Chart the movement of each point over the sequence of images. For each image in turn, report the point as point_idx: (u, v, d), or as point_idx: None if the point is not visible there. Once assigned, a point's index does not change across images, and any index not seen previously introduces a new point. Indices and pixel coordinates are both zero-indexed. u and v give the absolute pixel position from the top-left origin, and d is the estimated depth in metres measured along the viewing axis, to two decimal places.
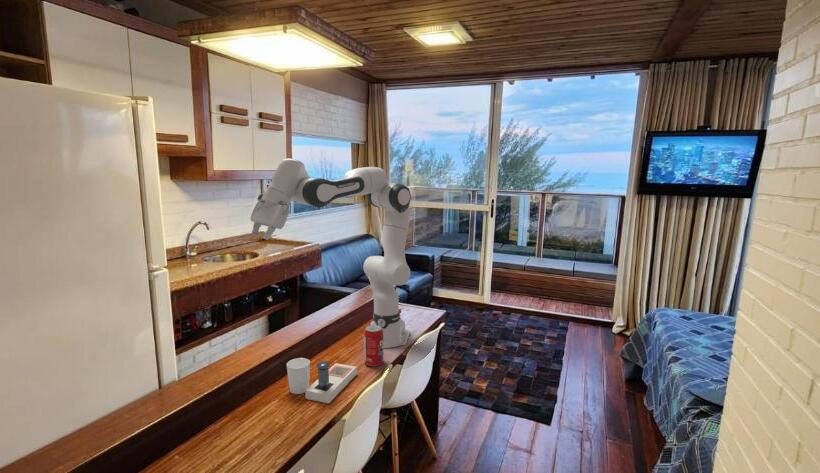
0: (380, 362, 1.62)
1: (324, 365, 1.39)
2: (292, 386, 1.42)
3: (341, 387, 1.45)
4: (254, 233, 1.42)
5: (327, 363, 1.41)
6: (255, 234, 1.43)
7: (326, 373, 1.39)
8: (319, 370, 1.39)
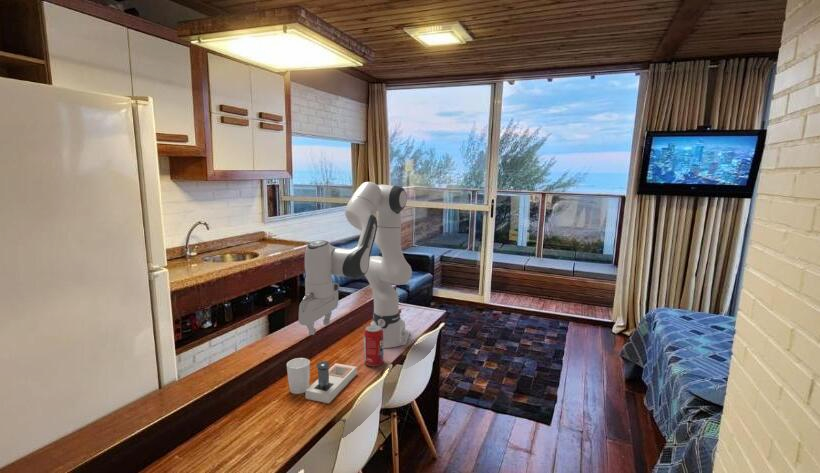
0: (380, 362, 1.62)
1: (324, 365, 1.39)
2: (292, 386, 1.42)
3: (341, 387, 1.45)
4: (324, 322, 1.42)
5: (327, 363, 1.41)
6: (325, 323, 1.42)
7: (326, 373, 1.39)
8: (319, 370, 1.39)
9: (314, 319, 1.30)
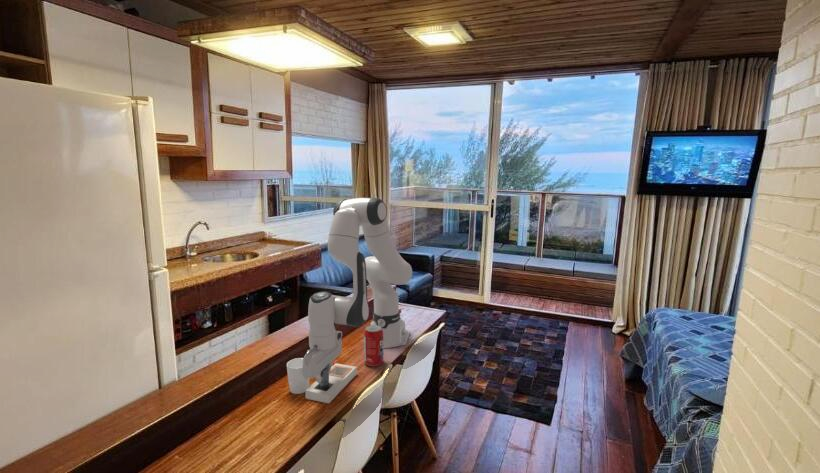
0: (380, 362, 1.62)
1: None
2: (292, 386, 1.42)
3: (341, 387, 1.45)
4: None
5: None
6: None
7: (326, 373, 1.39)
8: None
9: (317, 371, 1.33)
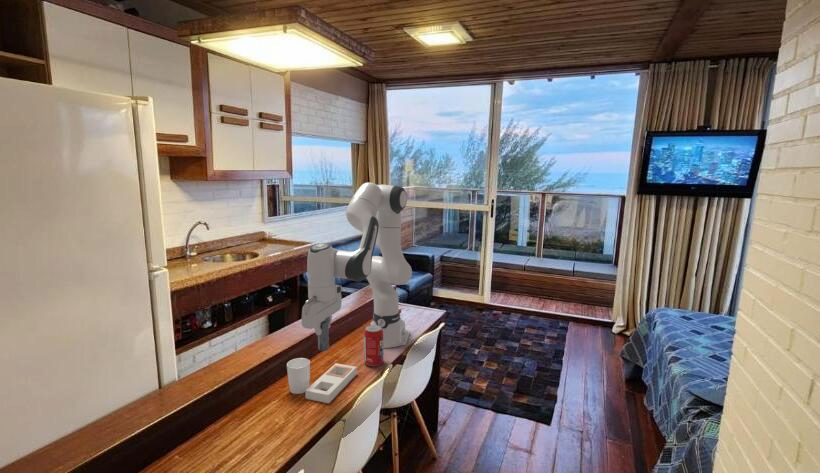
0: (380, 362, 1.62)
1: None
2: (292, 386, 1.42)
3: (341, 387, 1.45)
4: None
5: None
6: None
7: (326, 326, 1.37)
8: None
9: (317, 322, 1.31)
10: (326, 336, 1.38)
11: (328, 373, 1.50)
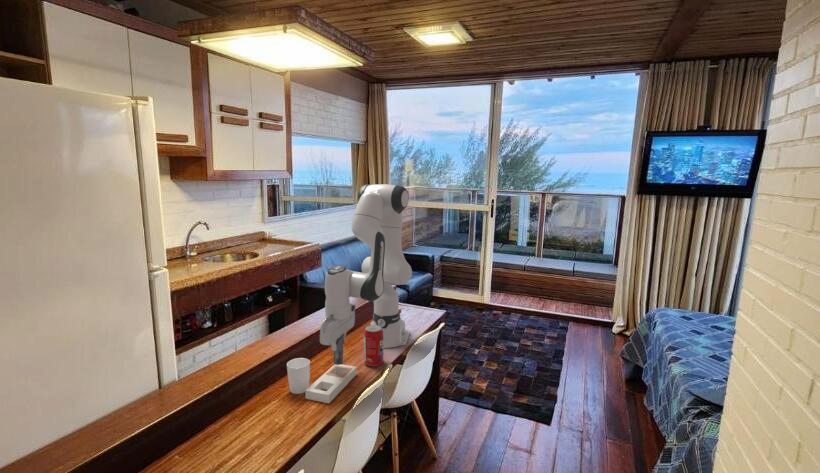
0: (380, 362, 1.62)
1: None
2: (292, 386, 1.42)
3: (341, 387, 1.45)
4: None
5: None
6: None
7: (341, 342, 1.49)
8: None
9: (333, 339, 1.42)
10: (341, 351, 1.49)
11: (328, 373, 1.50)
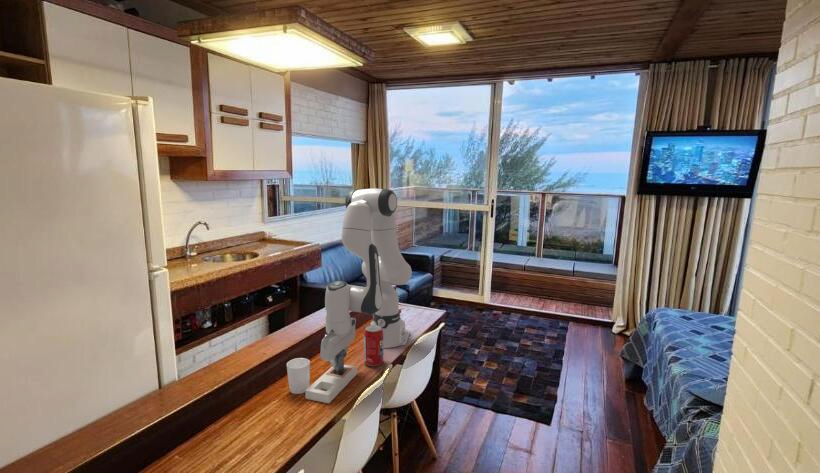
0: (380, 362, 1.62)
1: (340, 352, 1.50)
2: (292, 386, 1.42)
3: (341, 387, 1.45)
4: None
5: (342, 350, 1.51)
6: None
7: (342, 359, 1.50)
8: (335, 356, 1.49)
9: (334, 354, 1.44)
10: (342, 368, 1.50)
11: (328, 373, 1.50)
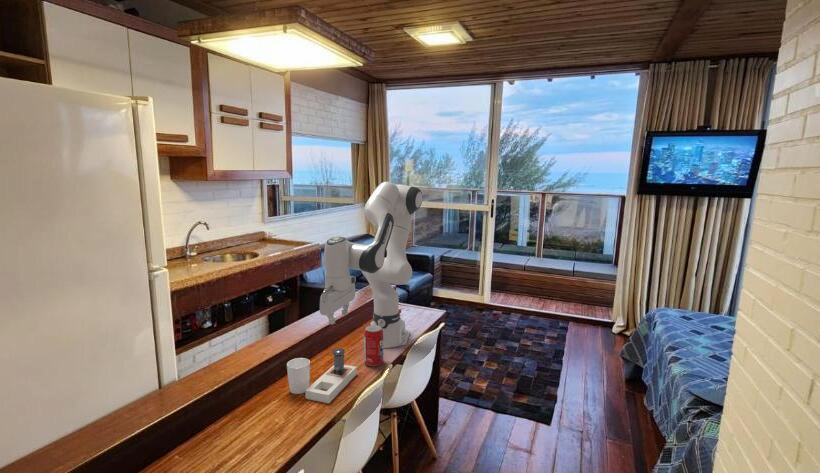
0: (380, 362, 1.62)
1: (340, 352, 1.50)
2: (292, 386, 1.42)
3: (341, 387, 1.45)
4: (343, 313, 1.53)
5: (342, 350, 1.51)
6: (344, 313, 1.52)
7: (342, 359, 1.50)
8: (335, 356, 1.49)
9: (333, 309, 1.41)
10: (342, 368, 1.50)
11: (328, 373, 1.50)
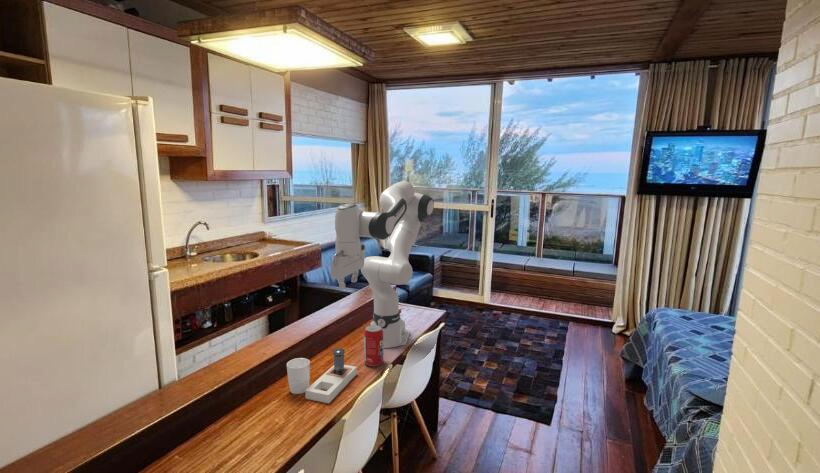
0: (380, 362, 1.62)
1: (340, 352, 1.50)
2: (292, 386, 1.42)
3: (341, 387, 1.45)
4: (352, 280, 1.54)
5: (342, 350, 1.51)
6: (353, 281, 1.54)
7: (342, 359, 1.50)
8: (335, 356, 1.49)
9: (344, 274, 1.43)
10: (342, 368, 1.50)
11: (328, 373, 1.50)
